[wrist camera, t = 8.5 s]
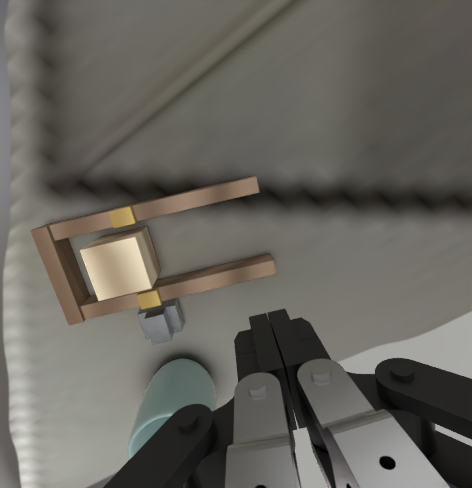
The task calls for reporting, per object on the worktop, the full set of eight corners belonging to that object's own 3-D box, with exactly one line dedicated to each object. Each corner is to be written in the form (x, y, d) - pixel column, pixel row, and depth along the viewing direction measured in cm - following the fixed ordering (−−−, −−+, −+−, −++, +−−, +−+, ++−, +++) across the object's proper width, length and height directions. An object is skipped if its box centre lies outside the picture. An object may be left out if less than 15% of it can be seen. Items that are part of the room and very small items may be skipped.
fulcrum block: (177, 297, 35) (173, 312, 32) (184, 321, 36) (181, 338, 32) (141, 306, 35) (134, 321, 32) (149, 329, 36) (142, 347, 32)
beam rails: (252, 175, 32) (257, 176, 29) (272, 266, 35) (277, 277, 32) (46, 223, 32) (28, 230, 29) (81, 312, 35) (67, 327, 31)
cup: (185, 416, 39) (176, 499, 29) (136, 379, 37) (108, 455, 28) (229, 374, 38) (235, 447, 28) (180, 335, 36) (168, 398, 27)
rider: (146, 226, 33) (135, 236, 28) (160, 270, 34) (151, 288, 29) (99, 237, 33) (79, 250, 28) (115, 281, 34) (98, 301, 29)
